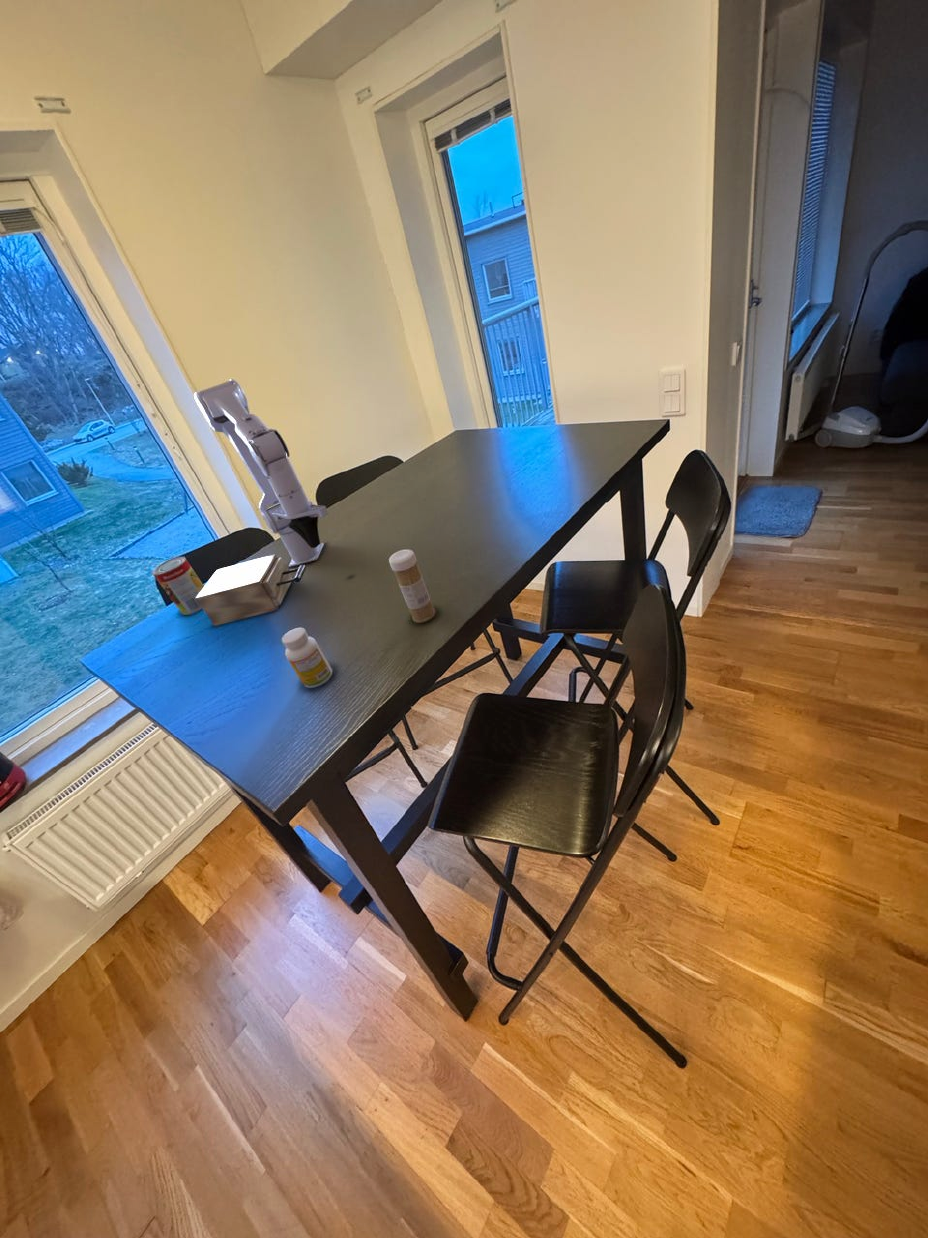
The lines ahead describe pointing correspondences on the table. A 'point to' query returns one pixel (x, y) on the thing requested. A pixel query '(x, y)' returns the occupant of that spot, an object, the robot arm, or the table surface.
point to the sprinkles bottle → (412, 585)
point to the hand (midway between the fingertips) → (315, 545)
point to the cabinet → (237, 592)
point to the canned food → (180, 584)
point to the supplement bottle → (306, 658)
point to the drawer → (280, 580)
